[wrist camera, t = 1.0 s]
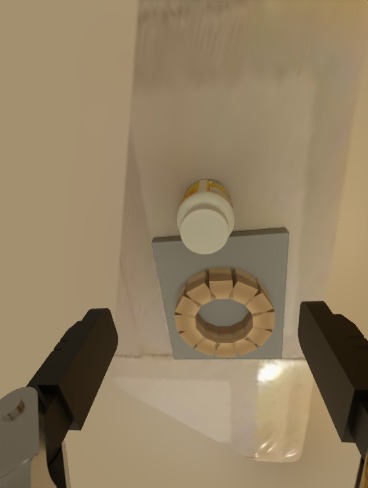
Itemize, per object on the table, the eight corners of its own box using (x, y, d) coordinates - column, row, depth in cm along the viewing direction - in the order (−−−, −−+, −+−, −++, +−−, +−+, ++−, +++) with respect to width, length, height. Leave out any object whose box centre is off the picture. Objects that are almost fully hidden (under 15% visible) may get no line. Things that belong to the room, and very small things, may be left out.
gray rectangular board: (154, 238, 30) (151, 242, 29) (285, 227, 28) (289, 232, 27) (175, 351, 38) (174, 359, 37) (278, 350, 36) (281, 358, 35)
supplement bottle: (228, 175, 26) (237, 196, 18) (231, 221, 29) (240, 259, 20) (180, 182, 27) (166, 204, 19) (186, 225, 29) (177, 264, 21)
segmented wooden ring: (172, 270, 30) (168, 283, 28) (269, 264, 29) (276, 278, 26) (183, 340, 35) (181, 357, 33) (267, 338, 34) (273, 356, 31)
